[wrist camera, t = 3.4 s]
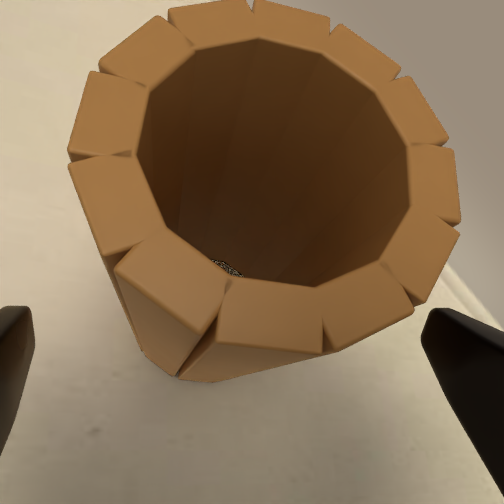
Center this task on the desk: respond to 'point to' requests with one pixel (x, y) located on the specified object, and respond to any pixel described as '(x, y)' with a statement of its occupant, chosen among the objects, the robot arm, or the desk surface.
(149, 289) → the wooden stave pencil cup
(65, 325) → the desk surface
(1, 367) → the robot arm
